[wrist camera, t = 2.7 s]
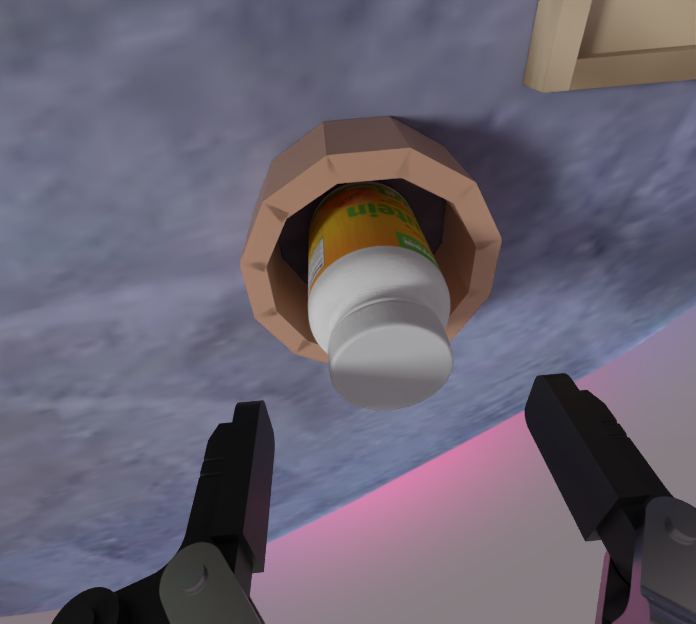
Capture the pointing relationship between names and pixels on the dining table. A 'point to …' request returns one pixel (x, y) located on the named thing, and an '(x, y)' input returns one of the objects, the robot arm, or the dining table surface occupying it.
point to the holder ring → (356, 166)
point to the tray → (611, 43)
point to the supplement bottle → (377, 298)
